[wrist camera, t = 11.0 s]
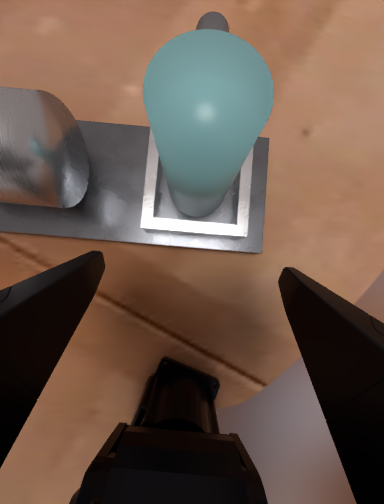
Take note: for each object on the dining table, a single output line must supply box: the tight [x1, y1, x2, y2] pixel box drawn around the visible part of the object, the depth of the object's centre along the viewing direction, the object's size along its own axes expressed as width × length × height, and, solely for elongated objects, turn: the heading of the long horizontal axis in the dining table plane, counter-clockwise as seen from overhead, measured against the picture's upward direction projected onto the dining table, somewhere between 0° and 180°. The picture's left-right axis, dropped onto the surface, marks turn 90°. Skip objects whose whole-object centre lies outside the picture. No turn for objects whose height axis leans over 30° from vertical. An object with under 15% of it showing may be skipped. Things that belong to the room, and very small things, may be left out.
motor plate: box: [0, 86, 269, 254], centre depth 15 cm, size 28×12×11 cm, turn 85°
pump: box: [143, 12, 274, 217], centre depth 14 cm, size 8×6×11 cm
